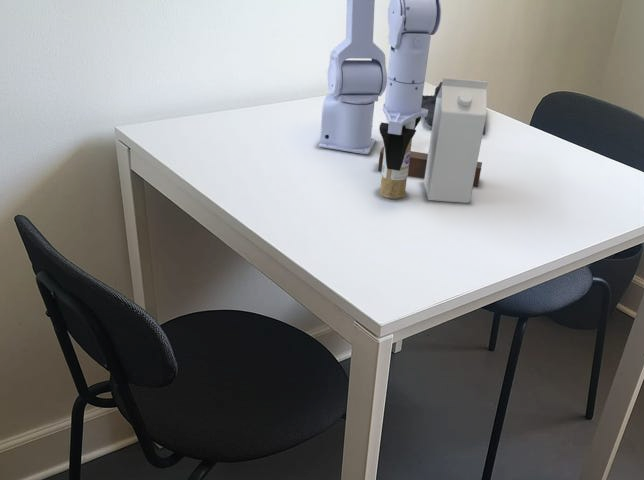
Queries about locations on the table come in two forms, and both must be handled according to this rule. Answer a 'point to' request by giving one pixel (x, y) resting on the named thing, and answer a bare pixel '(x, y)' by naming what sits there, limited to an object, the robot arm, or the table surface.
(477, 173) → the walnut rail
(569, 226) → the table surface
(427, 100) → the dark slate chunk
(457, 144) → the milk carton
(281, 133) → the table surface
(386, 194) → the sprinkles bottle
